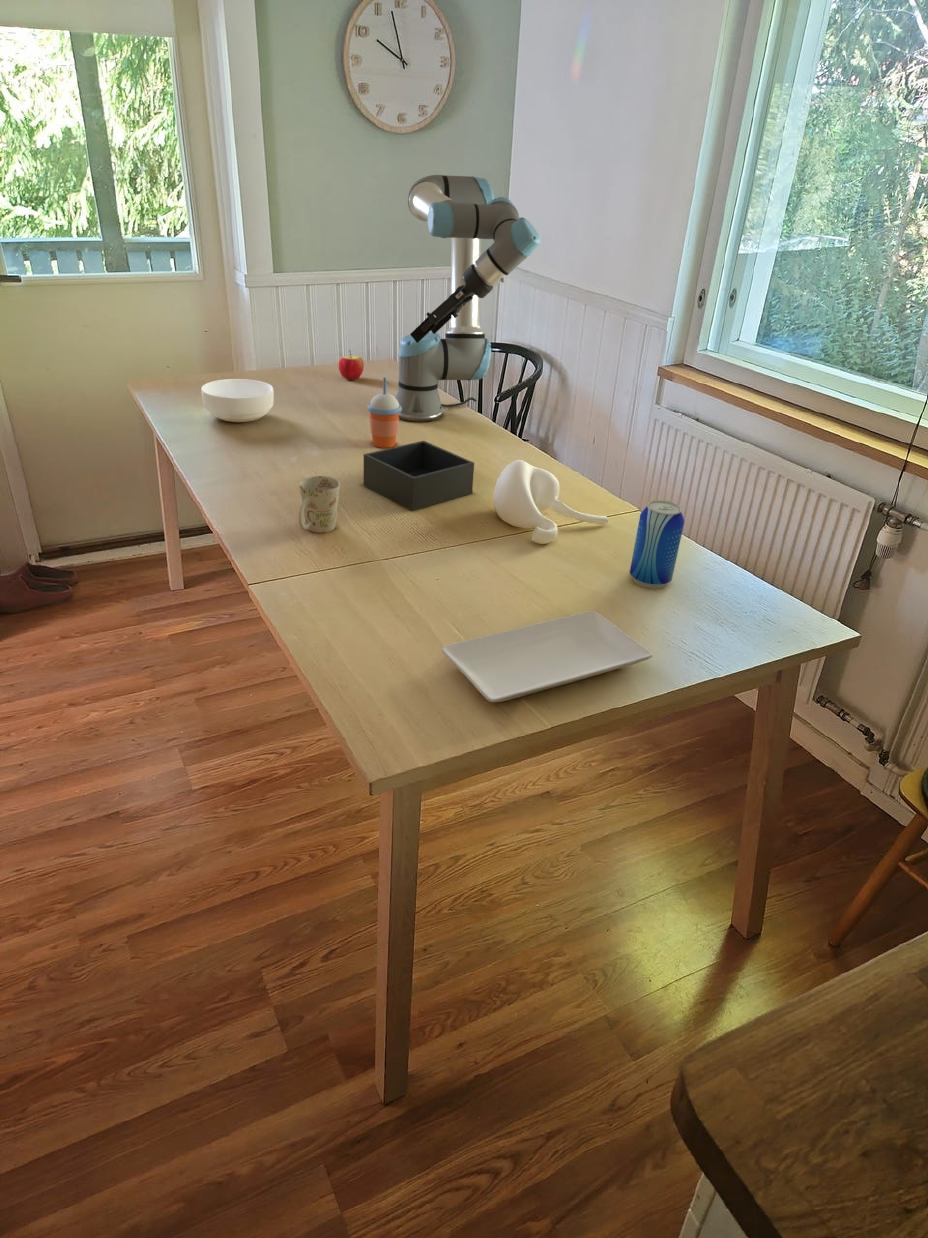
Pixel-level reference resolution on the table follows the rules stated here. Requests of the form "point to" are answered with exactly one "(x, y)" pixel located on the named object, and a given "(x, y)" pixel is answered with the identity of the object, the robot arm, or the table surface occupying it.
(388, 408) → the cup with straw
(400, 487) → the bin
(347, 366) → the apple
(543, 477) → the stomach
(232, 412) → the bowl
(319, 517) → the mug
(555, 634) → the tray
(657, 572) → the beer can
